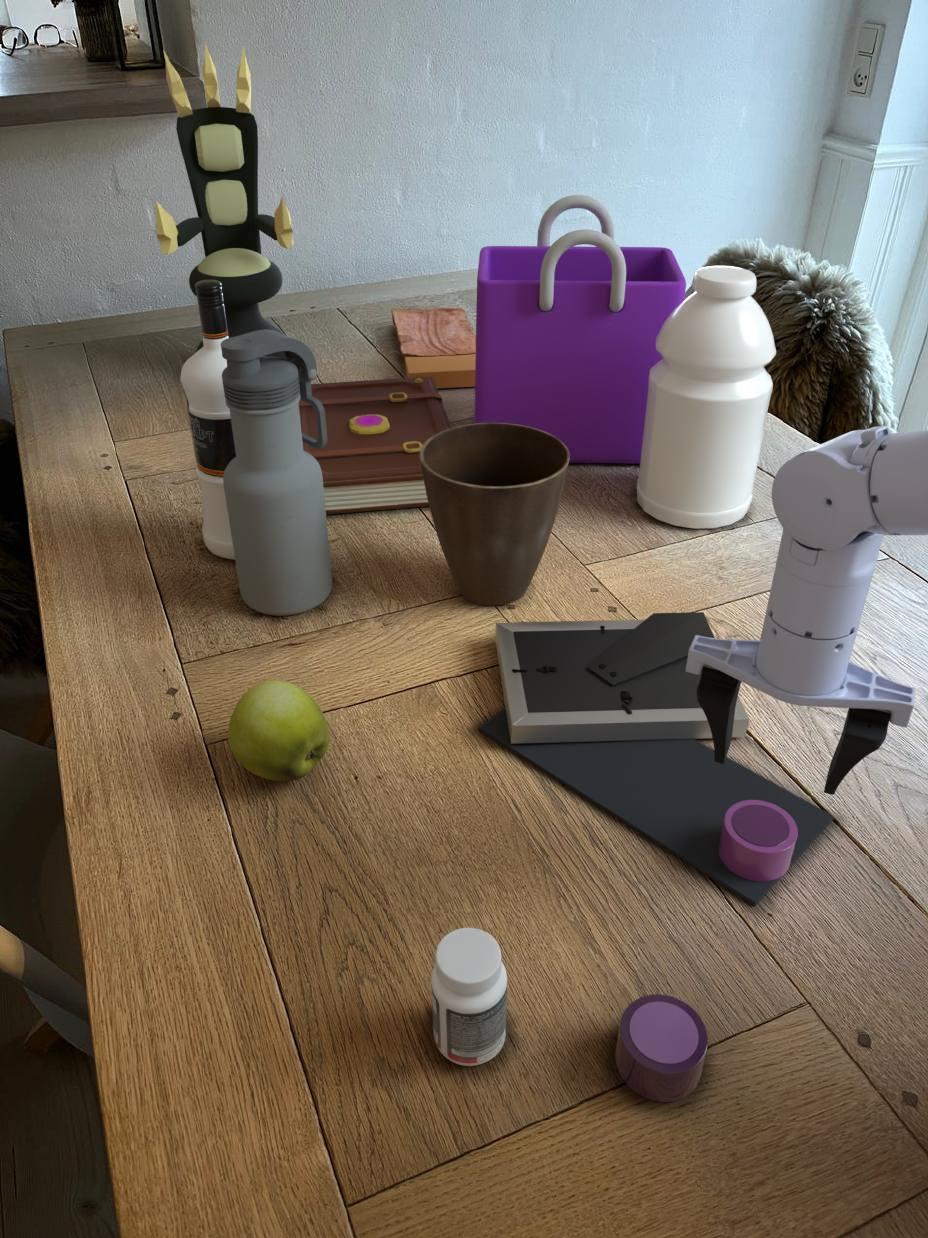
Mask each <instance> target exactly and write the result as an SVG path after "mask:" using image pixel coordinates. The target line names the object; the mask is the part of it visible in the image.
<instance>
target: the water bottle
mask: <svg viewBox="0 0 928 1238" xmlns="http://www.w3.org/2000/svg"><path fill="white" fill-rule="evenodd" d="M282 333H283V332H282ZM282 333H279V332H277V331H274V330H268V329H264V330H258V331H253V332H250V333H246V334H243V335H239V336H236V337H231V338H228V339H225V340H223V341H222V342H221V350H222V356H223V358H224V359H226V360H227V367H226V368H225V369H224V370H223V372H222V381H223V388H224V395H225V399H226V400H225V402H226V406H227V407H228V408H229V410H230V417H231V424H232V431H233V438H234V445H235V451H236V457H235V458H234V459H233V460H232V461H231V462H230V463H229V464H228V466H227V467H226V469H225V471H224V475H223V485H224V491H225V498H226V504H227V511H228V517H229V523H230V530H231V536H232V542H233V549H234V555H235V560H234V561H235V562H234V563H235V569H236V574H237V580H238V587H239V593H240V596H241V598H242V600H243V602H244V603H245V604H246V605H247V606H248V607H249V608H250V609H252V610H254V611H256V612H258V613H261V614H263V615H270V616H279V617H280V616H281V617H282V616H293V615H299V614H302V613H305V612H308V611H311V610H313V609H314V608H316V607H319V606H320V605H321V604H323V602H325V601H326V600H327V599H328V597H329V595H330V593H331V592H332V588H333V575H332V565H331V553H330V543H329V533H328V522H327V521H328V519H327V514H326V509H325V499H324V488H323V477H322V471H321V468H320V465H319V463H318V462H317V460H316V459H315V458H314V457H313V456H312V455H310V454H309V453H307V452H306V451H303V442H305V443H307V444H309V445H311V446H313V447H315V448H317V449H320V448H323V447H325V446H326V445H327V429H326V418H325V410H324V407H323V405H322V403H321V402H320V401H319V400H318V399H317V398H315V397H312V390H311V384H312V381H314V380H316V378H317V377H318V368H317V362H316V358H315V356H314V354H313V352H312V350H311V349H310V348H309V346H308V345H307V344H305V343H304V342H302V341H301V340H298V339H296V338H294V337H292V336H289V335H287V334H285V333H284V334H285V335H284V334H282ZM280 351H283V352H284V354H285V356H286V360H285V359H282V358H279V357H273V356H264V355H268V354H271V353H275V352H280ZM300 400H302V401H304V402H307V403H309V404H310V405H311V406H312V407H313V408H314V410H315V412H316V416H317V424H318V440H316V439H314V438H312V437H310V436H308V435H306V434H304V433H302V432H301V423H300V413H299V401H300ZM302 441H303V442H302Z"/></svg>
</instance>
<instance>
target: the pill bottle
mask: <svg viewBox="0 0 928 1238" xmlns="http://www.w3.org/2000/svg"><path fill="white" fill-rule="evenodd" d="M434 959H435V962H434V966H433V967H432V972H431V976H430V977H431V978H430V987H431V1005H432V1006H431V1008H432V1009H431V1010H432V1029H433V1030H432V1031H433V1039H434V1043H435V1046H436V1048H437V1049H438V1050H439V1052H440V1053H441V1054H442V1055H443V1057H445V1058H446V1059H447V1060H449V1061H450V1062H452V1063H454V1064H455V1065H460V1066H465V1067H474V1066H475V1067H476V1066H479V1065H482V1064H485V1063H487V1062H489V1061H490V1060H492V1059H493V1058H495V1057H496V1056H497V1055H498V1054H499V1053H500V1051H501V1050H502V1049H503V1046H504V1044H505V1041H506V1037H507V1011H508V1009H507V1008H508V1002H507V1001H508V974H507V970H506V966H505V965H504V962H503V961H502V952H501V947H500V945H499V943H498V941H497V940H496V938H494V937H493V936H492V935H491V934H490V933H488V932H487V931H485V930H483V929H480V928H476V927H462V928H461V927H460V928H458V929H454V930H452V931H450V932H448V933H447V934H445V936H443V937H442V938H441V939H440V941H439V943H438V944H437V947H436V950H435V958H434Z"/></svg>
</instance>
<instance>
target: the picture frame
mask: <svg viewBox="0 0 928 1238" xmlns="http://www.w3.org/2000/svg"><path fill="white" fill-rule="evenodd" d="M494 627H495V628H494V629H495V630H494V642H495V648H496V655H497V661H498V669H499V674H500V682H501V686H502V688H501V689H502V694H503V700H504V707H505V708H504V709H506V714H507V720H508V727H509V733H510V740H511V744H522V743H557V742H592V741H627V740H662V739H695V740H696V739H713V738H712V733H711V729H710V726H709V723H708V720H707V718H706V716H705V713H704V711H703V709H702V708H701V706H700V704H699V703H698V700H697V687H698V685H699V682H700V678H701V674H702V673H701V674H699V675H697V674H693V673H689V672H686V665H687V658H688V652H689V648H690V646H691V644H692V642H693V639H694V637H695V635H698V636H703V637H709V638H716V637H715V635H714V632H713V630H712V628H711V626H710V624H709V621H708V619H707V617H706V615H705V612H704V611H692V612H689V611H688V612H654V613H652V614H651V615H650V616H648V617H647V618H645V619H609V620H608V619H606V620H605V619H603V620H561V621H559V620H558V621H554V620H553V621H517V622H516V621H512V622H511V621H510V622H509V621H508V622H495V625H494ZM749 722H750V718H749V716H748V713H747V711H746V709H745V707H744V704H743V703H742V700H741V698H740V696H739V695H738V698H737V702H736V707H735V715H734V724H733V733H732V738H746V737H747V736H746V735H747V731H748V728H749V727H748V726H749Z"/></svg>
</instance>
